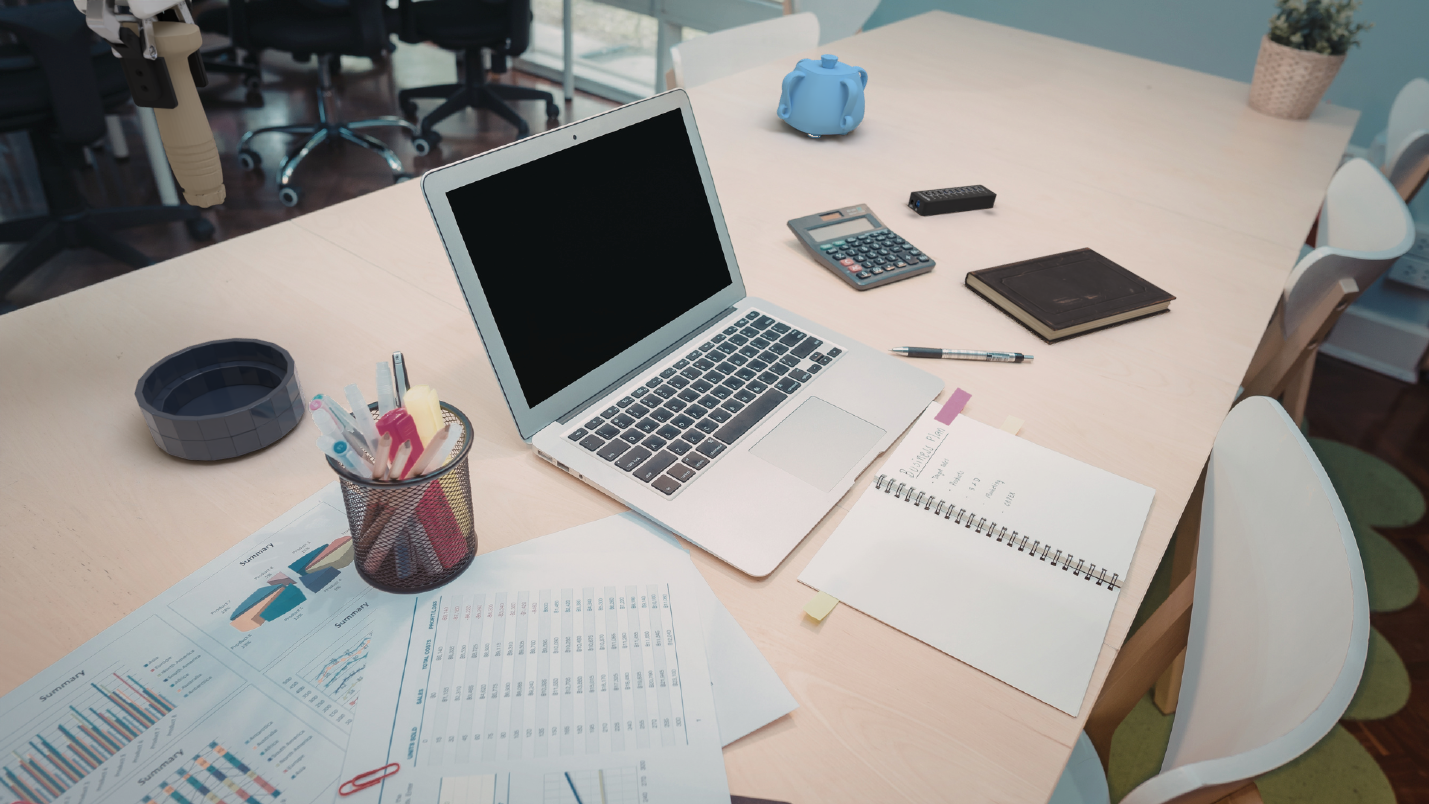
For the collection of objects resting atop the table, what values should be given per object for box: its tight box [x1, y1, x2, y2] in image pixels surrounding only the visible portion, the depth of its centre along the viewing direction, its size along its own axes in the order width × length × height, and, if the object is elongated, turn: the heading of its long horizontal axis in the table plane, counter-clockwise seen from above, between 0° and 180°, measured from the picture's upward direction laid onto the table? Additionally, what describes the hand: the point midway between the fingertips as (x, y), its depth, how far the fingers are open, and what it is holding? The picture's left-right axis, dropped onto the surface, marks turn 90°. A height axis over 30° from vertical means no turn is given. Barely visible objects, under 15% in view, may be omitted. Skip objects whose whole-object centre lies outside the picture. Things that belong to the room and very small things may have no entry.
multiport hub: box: [907, 184, 998, 217], centre depth 132 cm, size 4×14×2 cm, turn 113°
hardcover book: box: [964, 246, 1178, 345], centre depth 110 cm, size 16×23×2 cm
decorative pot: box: [776, 53, 869, 139], centre depth 155 cm, size 16×16×14 cm
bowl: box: [134, 337, 306, 461], centre depth 76 cm, size 13×13×5 cm
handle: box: [123, 21, 227, 209], centre depth 71 cm, size 5×6×15 cm
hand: (173, 93), depth 69 cm, fingers closed on handle, 5 cm apart
